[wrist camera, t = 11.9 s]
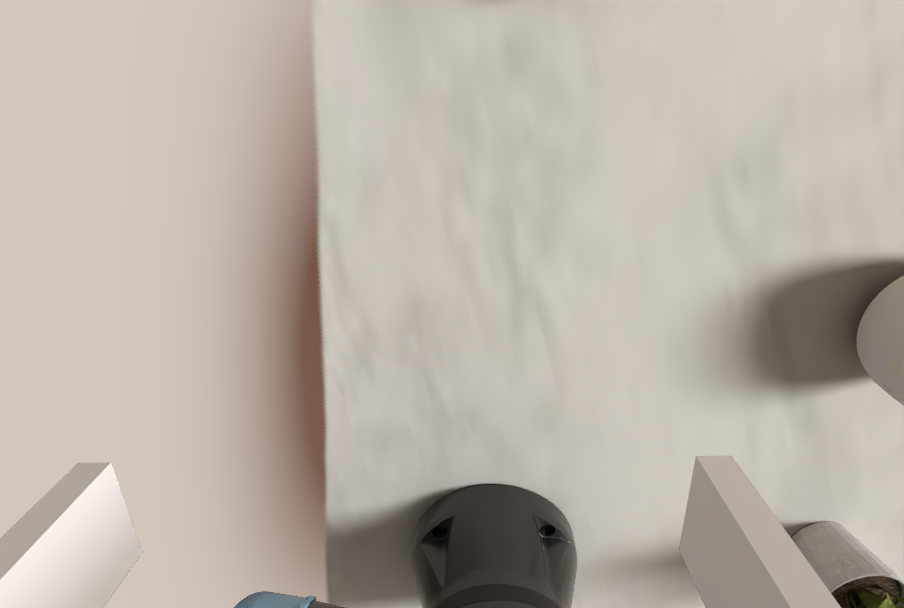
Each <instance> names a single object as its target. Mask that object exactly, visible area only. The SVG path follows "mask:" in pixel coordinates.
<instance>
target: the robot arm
mask: <svg viewBox="0 0 904 608" xmlns="http://www.w3.org/2000/svg"><path fill="white" fill-rule="evenodd" d="M679 550H680V553H681V555H682V557H683V559H684V561H685V563H686V566H687V568H688V570H689V572H690V574H691V576H692V579H693V581H694V583H695V585H696V587H697V589H698V592H699V594H700V596H701V598H702V600H703V602H704V605H705V607H706V608H841V607H840V605H839V604H838V602H837V601H836V600H835V598H834V597H833V596H832V594H831V593H830V591H829V590H828V589H827V587H826V586H825V584H824V583H823V582H822V580H821V579H820V578H819V576H818V575H817V573H816V572H815V571H814V569H813V568H812V566H811V565H810V564H809V562H808V561H807V560H806V558H805V557H804V555H803V554H802V553H801V551H800V550H799V548H798V547H797V546H796V544H795V543H794V542H793V540H792V539H791V537H790V536H789V535H788V533H787V532H786V530H785V529H784V528H783V526H782V525H781V524H780V522H779V521H778V519H777V518H776V517H775V515H774V514H773V512H772V511H771V510H770V508H769V507H768V506H767V504H766V503H765V501H764V500H763V499H762V497H761V496H760V494H759V493H758V492H757V490H756V489H755V488H754V486H753V485H752V483H751V482H750V481H749V479H748V478H747V476H746V475H745V474H744V472H743V471H742V469H741V468H740V467H739V465H738V464H737V463H736V461H735V460H734V458H733V457H732V456H696V459H695V464H694V470H693V475H692V481H691V486H690V492H689V497H688V503H687V508H686V514H685V519H684V525H683V530H682V536H681V541H680V547H679ZM141 554H142V549H141V546H140V544H139V541H138V538H137V535H136V533H135V529H134V527H133V524H132V521H131V518H130V515H129V513H128V510H127V507H126V504H125V501H124V498H123V495H122V493H121V490H120V487H119V484H118V482H117V478H116V476H115V473H114V470H113V467H112V465H111V463H78V464H77V465H75V467H73V468H72V469H71V470H70V471H69V473H67V474H66V475H65V476H64V477H63V478H62V479H61V480H60V481H59V482H58V483H57V484H56V485H55V486H54V487H53V488H52V489H51V490H50V491H49V492H48V493H47V494H46V495H45V496H44V497H43V498H42V499H40V501H39V502H38V503H36V504H35V505H34V506H33V507H32V508H31V509H30V510H29V511H28V512H27V513H26V514H25V515H24V516H23V517H22V518H21V519H20V520H19V521H18V522H17V523H16V524H15V525H14V526H13V527H12V528H11V529H10V530H9V531H7V533H6V534H4V535H3V536H2V538H0V608H104V607H105V605H106V604H107V603H108V601H109V600H110V598H111V597H112V595H113V594H114V592H115V591H116V590H117V588H118V587H119V585H120V584H121V582H122V581H123V579H124V578H125V577H126V575H127V574H128V572H129V571H130V569H131V568H132V567H133V565H134V564H135V562H136V561H137V559H138V558H139V556H140V555H141ZM412 565H413V572H414V576H415V580H416V584H417V588H418V592H419V596H420V600H421V604H422V608H571V604H572V598H573V591H574V584H575V578H576V571H577V552H576V547H575V543H574V538H573V534H572V530H571V527H570V525H569V523H568V521H567V519H566V518H565V516H564V515H563V513H562V512H561V511H560V510H559V509H558V508H557V507H556V506H555V505H554V504H552V503H551V502H550V501H548V500H547V499H545V498H543V497H542V496H540V495H538V494H536V493H533V492H531V491H528V490H525V489H522V488H518V487H513V486H506V485H481V486H474V487H470V488H466V489H462V490H459V491H456V492H454V493H452V494H449V495H447V496H446V497H444V498H442V499H440V500H439V501H438V502H436V503H435V504H434V505H433V506H431V507H430V508H429V509H428V510H427V511H426V513H425V514H424V515H423V517H422V518H421V520H420V521H419V523H418V525H417V528H416V531H415V536H414V544H413V553H412ZM315 600H316V597H314V596H308V597H306V598H303V597H297V596H290V595H285V594H279V593H273V592H257V593H254V594H252V595H249V596H247V597H246V598H244V599H243V600H242V601H240V602H239V603H238V604H237V605H236V606H235V607H234V608H345V607H340V606H336V605H331V604H327V603H322V602H318V601H315Z"/></svg>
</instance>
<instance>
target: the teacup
mask: <svg viewBox="0 0 904 608" xmlns="http://www.w3.org/2000/svg"><path fill="white" fill-rule="evenodd" d="M857 352H858V356H859V359H860V361H861V364H862V366H863V367H864V369H865V371H866V372H867V373H868V375H869V376H870V377H871V378H872V379H873V380H874V382H875V383H877V384H878V385H879V386H880V387H881V388H882V389H883V390H885V391H886V392H887V393H888V394H890V395H891V396H892V397H893V398H895V399H896V400H897V401H899V402H900V403H901V404H903V405H904V275H903V276H902V277H900V278H898V279H897V280H895V281H893V282H892V283H891V284H889V285H888V286H887V287H885V288H884V289H883V290H882V291H881V292H880V293H879V294H878V295H877V296H876V297H875V298H874V300H873V301H872V302H871V303H870V305H869V306H868V307H867V309H866V311H865V312H864V314H863V316H862V319H861V321H860V324H859V327H858V332H857Z"/></svg>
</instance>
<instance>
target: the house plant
mask: <svg viewBox="0 0 904 608" xmlns="http://www.w3.org/2000/svg"><path fill="white" fill-rule="evenodd" d="M792 540H793V542H794V543H795V544H796V546H797V547H798V548H799V550H800V551H801V553H802V554H803V555H804V557H805V558H806V560H807V561H808V562H809V564H810V565H811V566H812V568H813V569H814V571H815V572H816V573H817V575H818V576H819V578H820V579H821V580H822V582H823V583H824V584H825V586H826V587H827V589H828V590H829V591H830V593H831V594H832V596H833V597H834V598H835V600H836V601H837V602H838V604H839V605H840V607H841V608H904V581H903V580H902V579H901V578H900V577H899V576H898V575H897V574H896V573H895V572H893V571H892V570H891V569H890V568H889V567H888V566H887V565H886V564H884V563H883V562H882V561H881V560H880V559H879V558H878V557H877V556H875V555H874V554H873V553H872V552H871V551H870V550H869V549H868V548H866V547H865V546H864V545H863V544H862V543H861V542H860V541H859V540H858V539H856V538H855V537H854V536H853V535H852V534H851V533H850V532H849V531H847V530H846V529H845V528H844V527H843V526H841V525H840V524H837V523H835V522H828V521H825V522H817V523H814V524H811V525H809V526H806V527H804V528H802V529H801V530H799V531H798V532H797V533H796V534H795V535H794V536H793V537H792Z"/></svg>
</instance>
